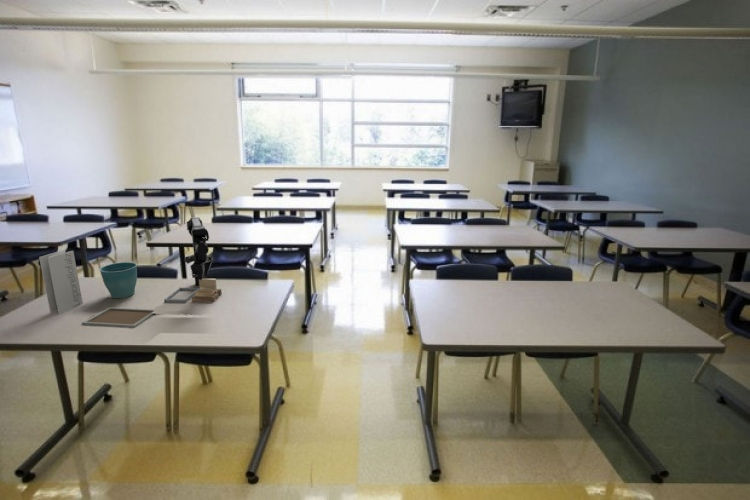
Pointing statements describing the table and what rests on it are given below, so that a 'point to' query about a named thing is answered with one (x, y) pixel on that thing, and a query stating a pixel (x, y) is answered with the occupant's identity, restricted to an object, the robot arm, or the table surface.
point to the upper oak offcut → (204, 293)
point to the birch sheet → (208, 284)
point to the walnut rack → (207, 299)
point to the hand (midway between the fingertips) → (203, 277)
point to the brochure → (61, 281)
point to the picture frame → (120, 317)
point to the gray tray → (179, 291)
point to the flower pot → (120, 279)
